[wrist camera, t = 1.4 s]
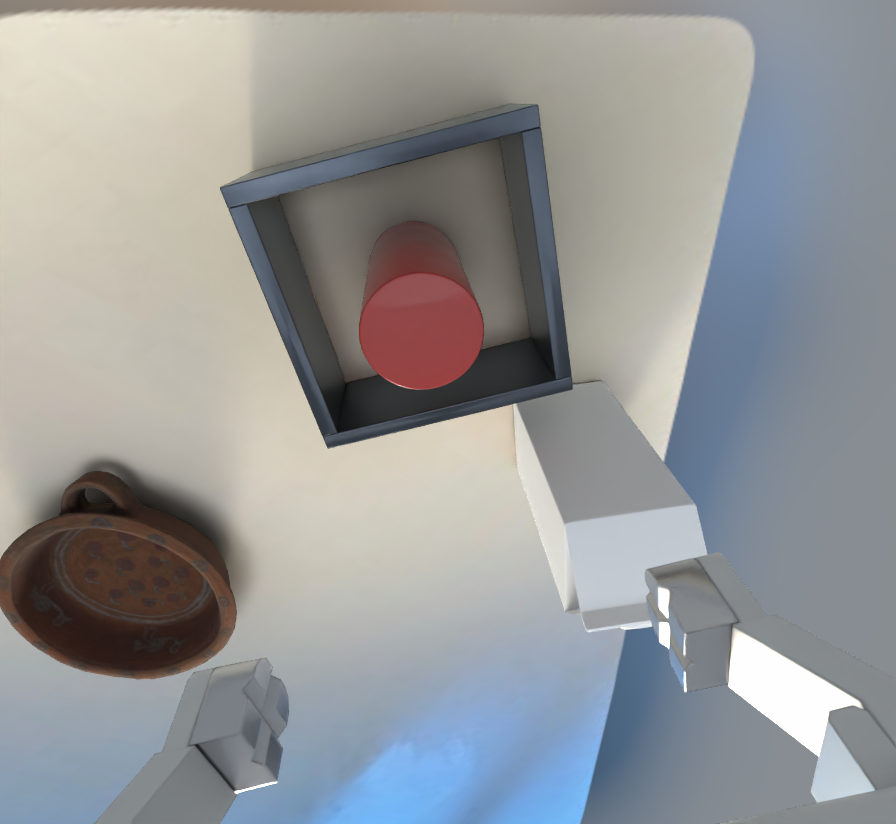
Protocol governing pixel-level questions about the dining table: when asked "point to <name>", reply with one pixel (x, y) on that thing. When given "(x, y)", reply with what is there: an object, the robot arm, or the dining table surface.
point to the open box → (301, 325)
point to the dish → (118, 586)
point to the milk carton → (601, 503)
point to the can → (418, 309)
